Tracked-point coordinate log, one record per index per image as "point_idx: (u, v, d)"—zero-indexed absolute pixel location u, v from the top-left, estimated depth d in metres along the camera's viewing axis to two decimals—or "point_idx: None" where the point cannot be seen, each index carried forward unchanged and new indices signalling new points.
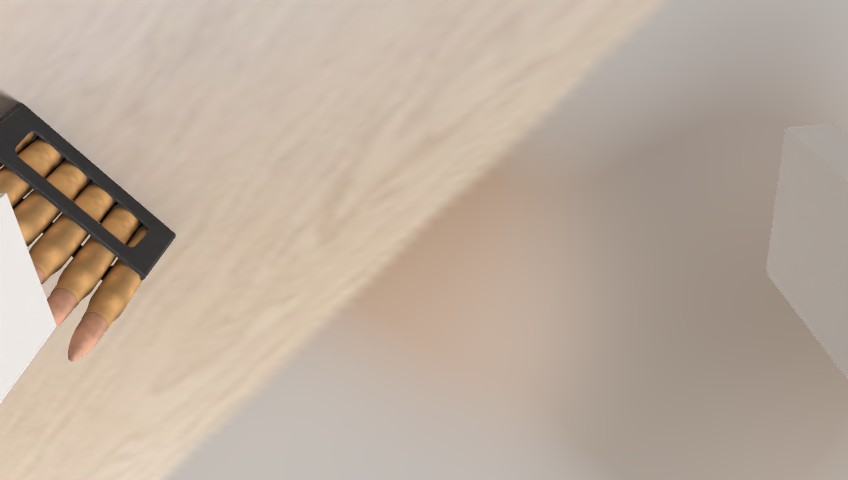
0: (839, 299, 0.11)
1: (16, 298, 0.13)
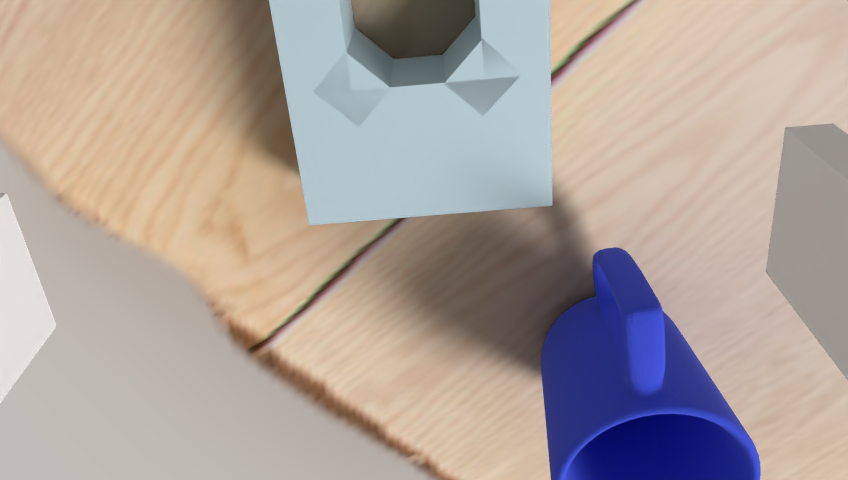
0: (839, 299, 0.11)
1: (16, 298, 0.13)
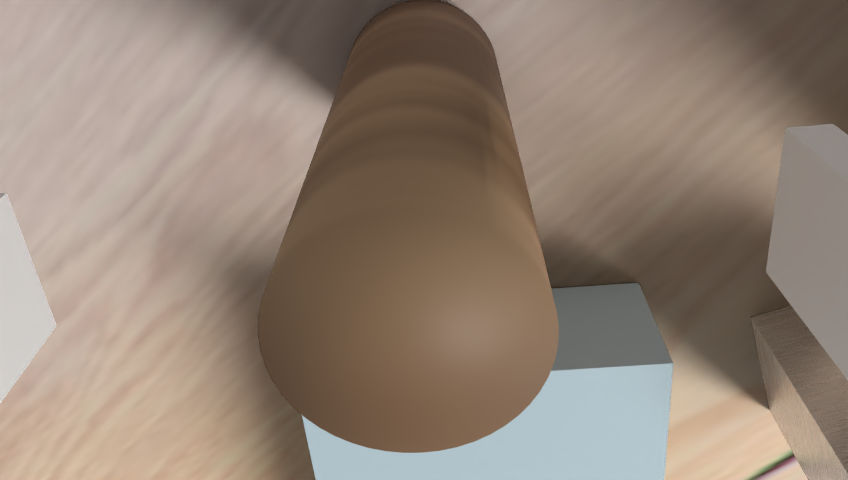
0: (839, 299, 0.11)
1: (16, 298, 0.13)
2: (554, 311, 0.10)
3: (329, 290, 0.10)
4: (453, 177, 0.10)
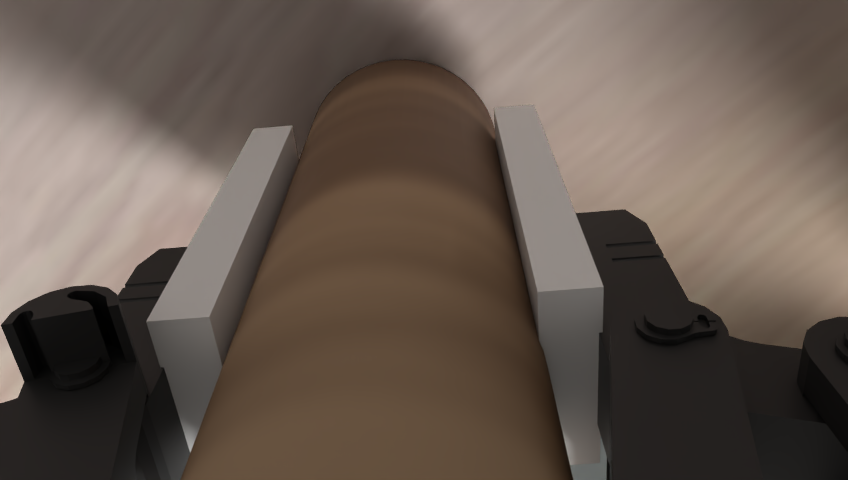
0: None
1: None
2: None
3: None
4: (441, 441, 0.06)
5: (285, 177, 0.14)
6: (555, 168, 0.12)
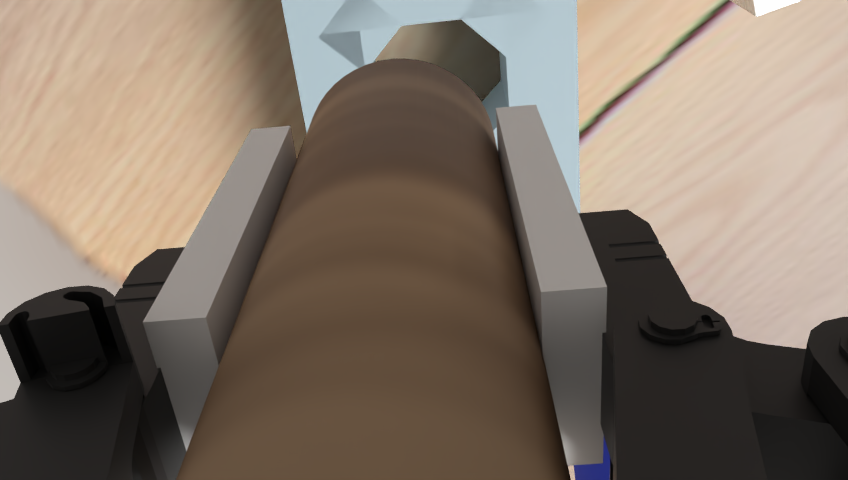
0: None
1: None
2: None
3: None
4: (437, 439, 0.06)
5: (283, 177, 0.14)
6: (557, 168, 0.12)
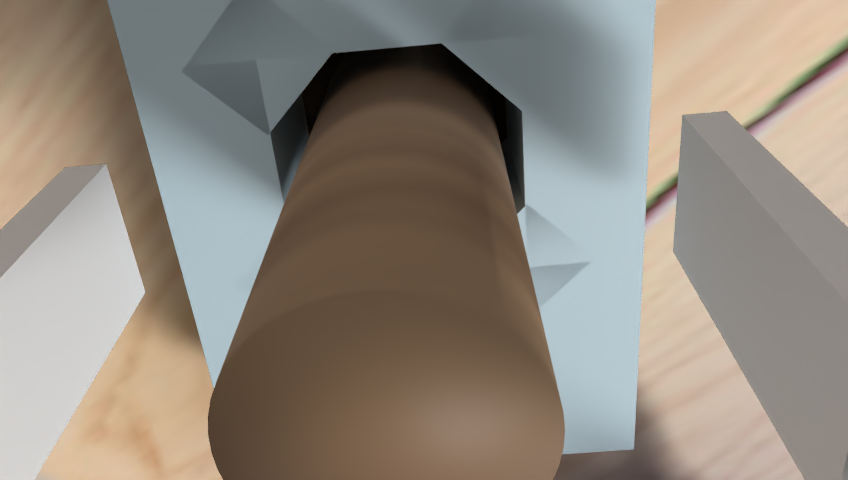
0: (721, 272, 0.12)
1: (115, 263, 0.14)
2: (559, 408, 0.09)
3: (293, 386, 0.08)
4: (439, 247, 0.09)
5: (84, 222, 0.13)
6: (799, 183, 0.11)
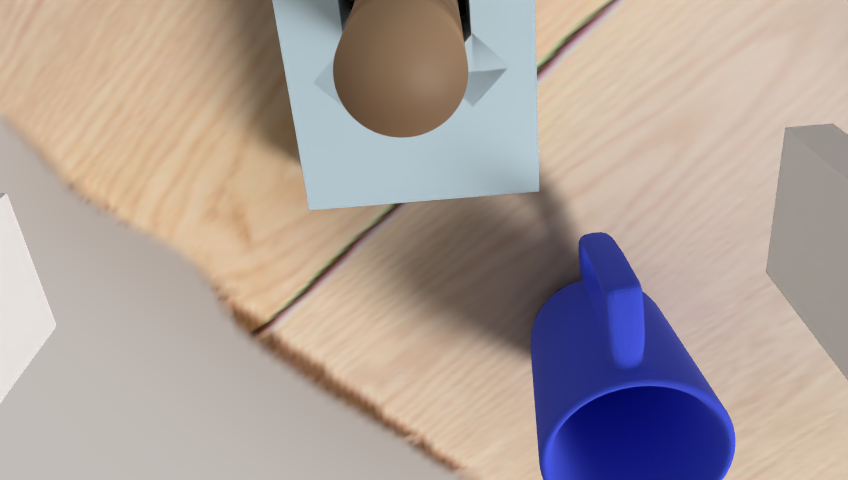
0: (839, 299, 0.11)
1: (16, 298, 0.13)
2: (465, 57, 0.23)
3: (365, 47, 0.23)
4: (420, 0, 0.23)
5: None
6: None
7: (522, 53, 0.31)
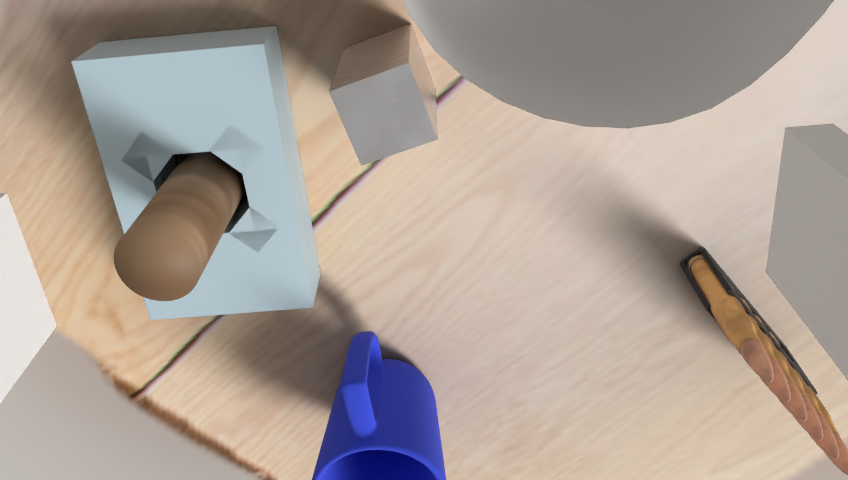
0: (839, 299, 0.11)
1: (16, 298, 0.13)
2: (196, 256, 0.36)
3: (132, 250, 0.36)
4: (170, 218, 0.37)
5: None
6: None
7: (286, 219, 0.44)
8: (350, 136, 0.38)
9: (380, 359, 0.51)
